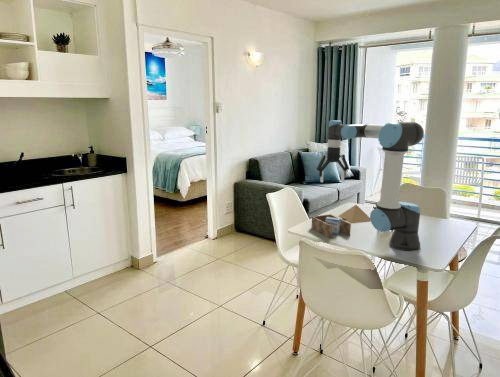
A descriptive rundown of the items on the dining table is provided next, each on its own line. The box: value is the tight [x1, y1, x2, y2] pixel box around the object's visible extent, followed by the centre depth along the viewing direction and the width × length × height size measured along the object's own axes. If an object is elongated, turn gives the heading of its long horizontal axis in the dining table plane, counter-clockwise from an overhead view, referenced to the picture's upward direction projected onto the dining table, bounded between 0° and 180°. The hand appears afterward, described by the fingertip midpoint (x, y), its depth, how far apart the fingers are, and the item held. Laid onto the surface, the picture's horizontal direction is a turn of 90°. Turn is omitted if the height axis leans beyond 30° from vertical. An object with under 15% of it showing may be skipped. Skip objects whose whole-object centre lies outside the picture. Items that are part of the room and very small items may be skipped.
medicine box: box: [325, 217, 342, 235], centre depth 220 cm, size 8×4×9 cm, turn 62°
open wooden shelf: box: [311, 213, 352, 239], centre depth 222 cm, size 20×13×7 cm, turn 23°
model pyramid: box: [337, 204, 371, 225], centre depth 246 cm, size 17×17×10 cm
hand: (332, 181), depth 232 cm, fingers open, 13 cm apart
